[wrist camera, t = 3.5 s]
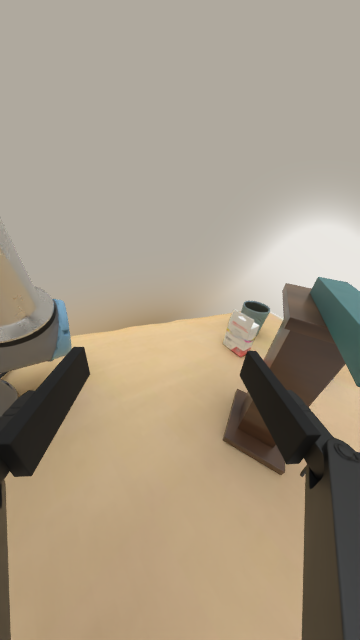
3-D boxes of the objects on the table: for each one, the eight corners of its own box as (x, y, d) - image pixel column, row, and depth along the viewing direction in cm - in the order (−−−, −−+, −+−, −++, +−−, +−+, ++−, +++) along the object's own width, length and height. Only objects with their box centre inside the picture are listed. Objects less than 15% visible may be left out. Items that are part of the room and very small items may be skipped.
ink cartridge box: (249, 353, 58) (264, 317, 51) (240, 358, 56) (255, 321, 48) (230, 339, 64) (241, 305, 56) (221, 343, 61) (232, 308, 54)
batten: (440, 417, 9) (490, 386, 7) (356, 386, 10) (387, 356, 9) (337, 298, 24) (347, 282, 23) (309, 292, 26) (318, 276, 24)
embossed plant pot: (249, 323, 76) (258, 300, 70) (265, 336, 68) (276, 311, 62) (230, 325, 73) (238, 301, 67) (245, 339, 65) (255, 313, 59)
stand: (281, 482, 29) (432, 356, 14) (221, 445, 33) (284, 315, 18) (281, 410, 41) (361, 299, 25) (236, 389, 45) (282, 282, 29)
